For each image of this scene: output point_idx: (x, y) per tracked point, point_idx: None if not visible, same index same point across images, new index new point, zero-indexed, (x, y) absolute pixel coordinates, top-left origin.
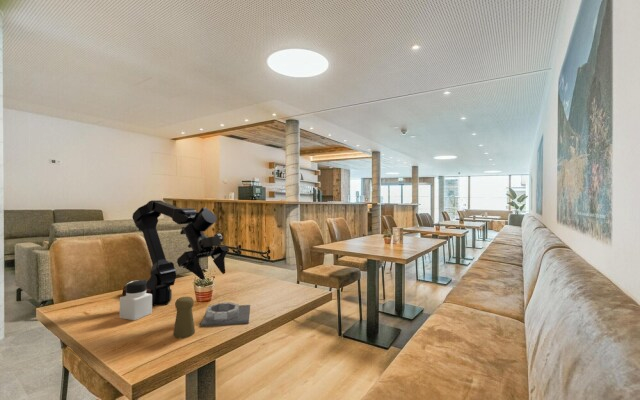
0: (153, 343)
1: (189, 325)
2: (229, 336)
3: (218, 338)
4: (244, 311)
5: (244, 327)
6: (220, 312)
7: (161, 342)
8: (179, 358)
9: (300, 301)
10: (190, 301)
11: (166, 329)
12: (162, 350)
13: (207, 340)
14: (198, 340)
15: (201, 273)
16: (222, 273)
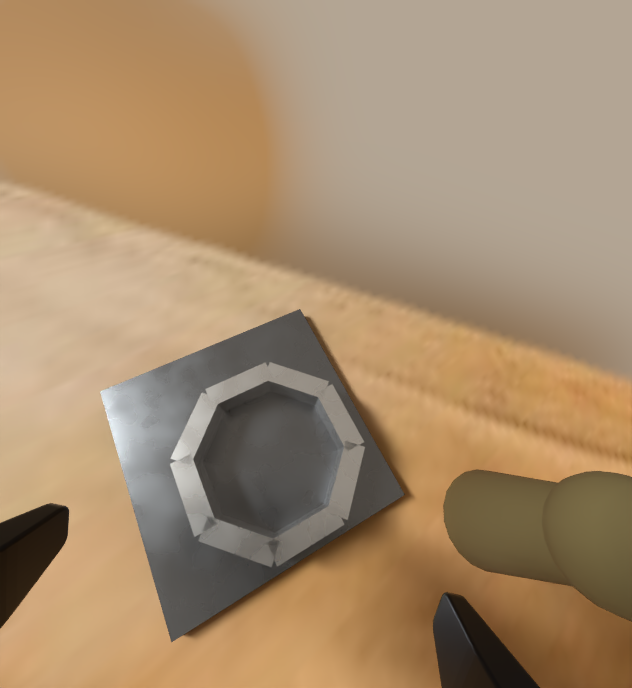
0: None
1: (520, 476)
2: (422, 326)
3: (451, 353)
4: (205, 373)
5: (338, 313)
6: (341, 420)
7: None
8: (608, 390)
9: (6, 213)
10: (624, 475)
11: None
12: None
13: (481, 381)
14: (497, 413)
15: (535, 682)
16: (54, 555)
